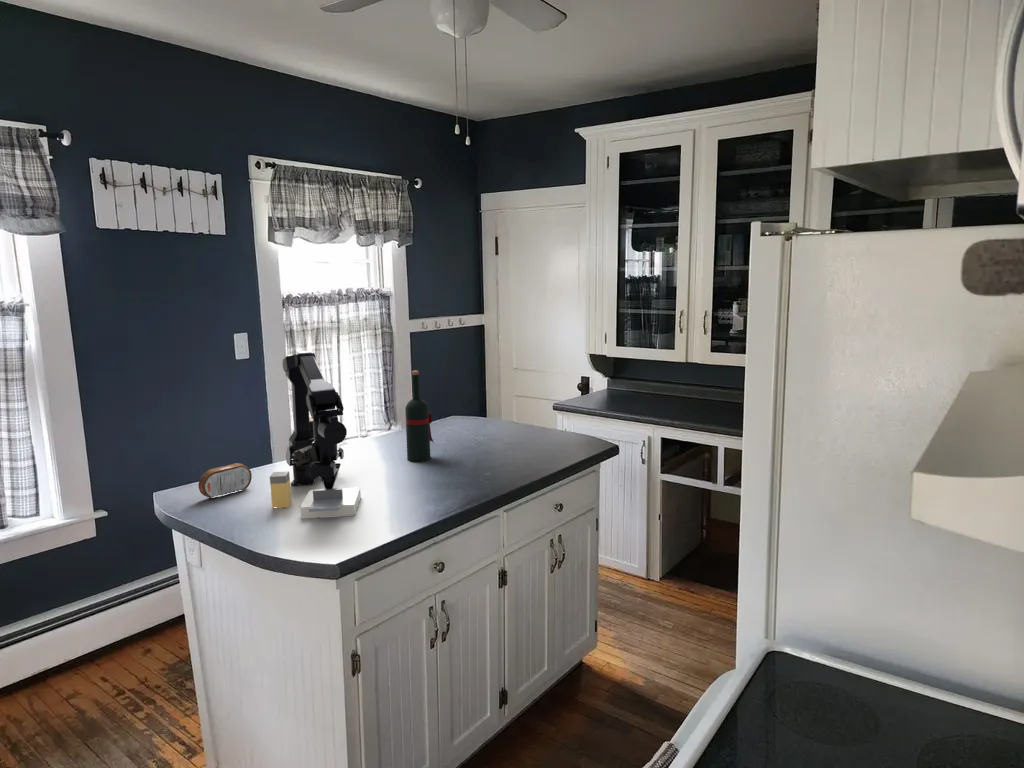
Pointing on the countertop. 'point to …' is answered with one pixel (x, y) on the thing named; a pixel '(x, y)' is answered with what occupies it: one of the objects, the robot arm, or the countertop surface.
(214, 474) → the tin
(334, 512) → the socket block
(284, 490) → the plug
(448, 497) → the countertop surface
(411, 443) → the wine bottle
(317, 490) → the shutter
